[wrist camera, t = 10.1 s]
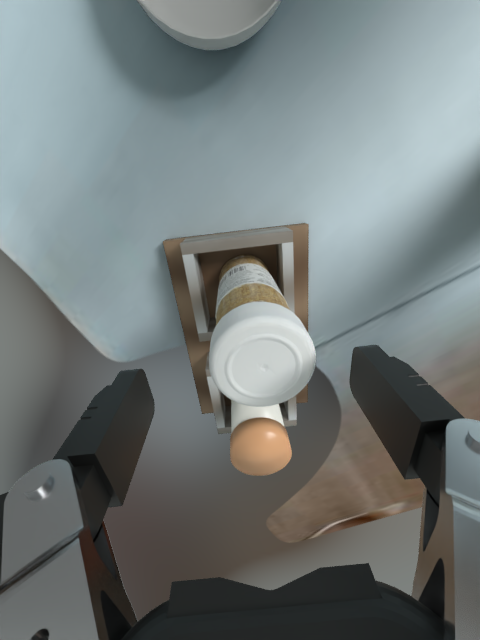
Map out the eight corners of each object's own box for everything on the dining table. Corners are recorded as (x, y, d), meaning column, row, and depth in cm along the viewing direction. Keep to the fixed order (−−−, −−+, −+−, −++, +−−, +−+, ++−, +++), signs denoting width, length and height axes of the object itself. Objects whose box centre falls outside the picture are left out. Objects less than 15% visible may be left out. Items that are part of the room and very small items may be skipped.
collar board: (165, 238, 22) (152, 247, 18) (304, 222, 22) (320, 227, 18) (203, 406, 30) (199, 436, 27) (304, 395, 30) (315, 423, 26)
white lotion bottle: (227, 364, 26) (226, 437, 18) (271, 359, 26) (290, 430, 18) (232, 398, 28) (234, 478, 20) (274, 394, 28) (292, 472, 20)
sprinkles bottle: (230, 310, 24) (232, 423, 12) (210, 264, 22) (188, 342, 10) (277, 292, 23) (330, 392, 11) (260, 244, 22) (302, 300, 9)
